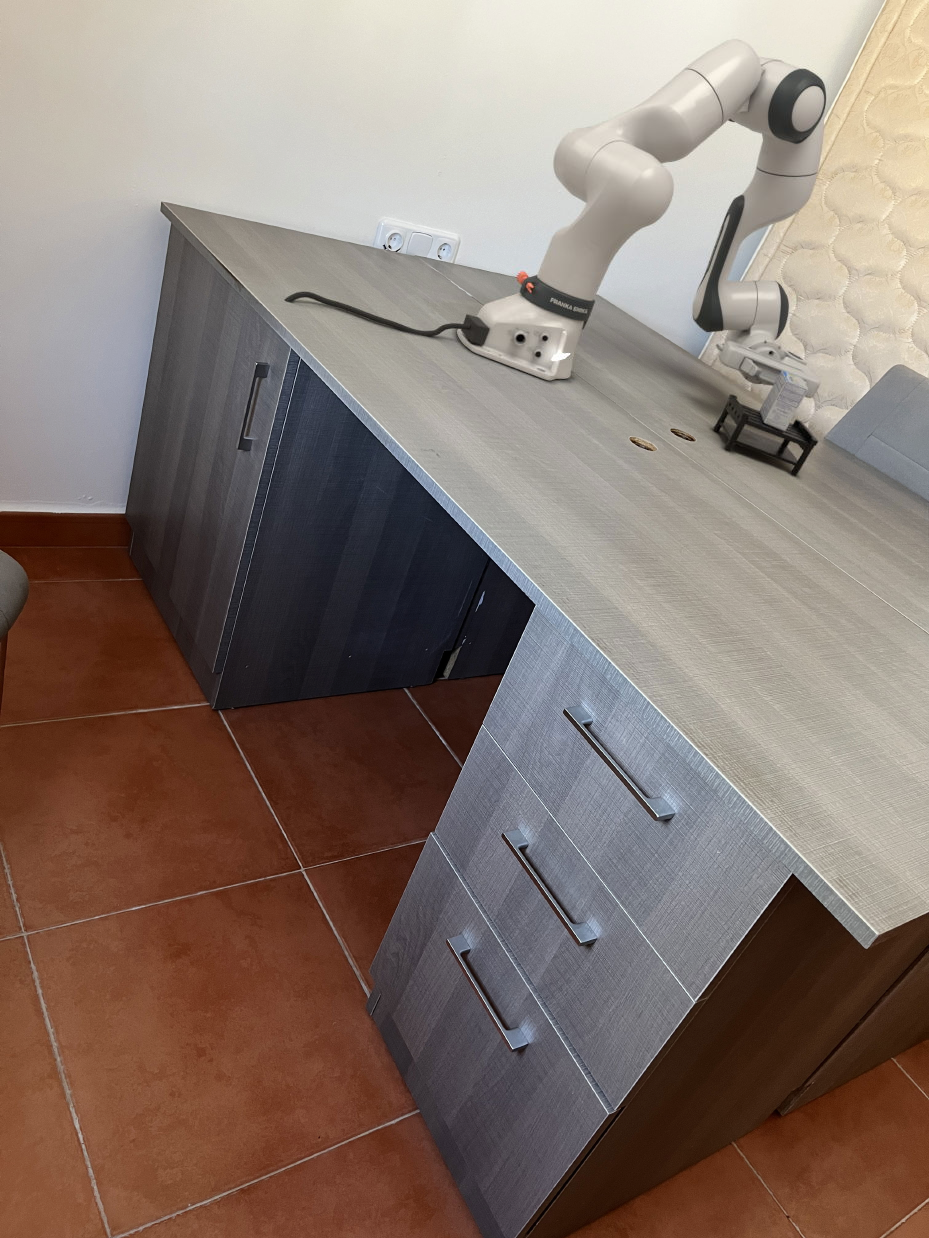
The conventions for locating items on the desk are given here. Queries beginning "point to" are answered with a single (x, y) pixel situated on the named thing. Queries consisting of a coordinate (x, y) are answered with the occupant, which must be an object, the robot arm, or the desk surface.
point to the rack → (761, 443)
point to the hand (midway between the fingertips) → (779, 381)
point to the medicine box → (783, 400)
